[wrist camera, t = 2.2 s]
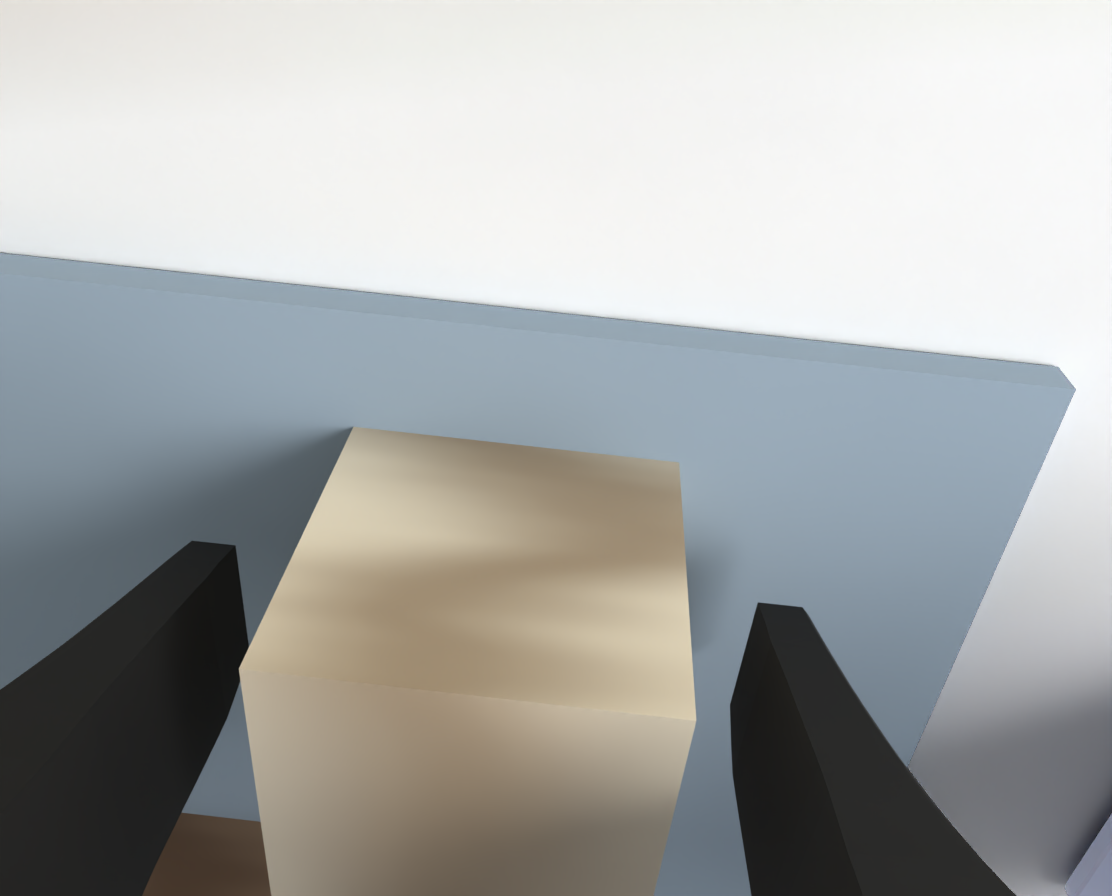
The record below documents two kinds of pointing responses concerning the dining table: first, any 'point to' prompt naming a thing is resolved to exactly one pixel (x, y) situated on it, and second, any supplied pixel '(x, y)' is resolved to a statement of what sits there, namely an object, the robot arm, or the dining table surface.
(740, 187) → the dining table surface
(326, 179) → the dining table surface
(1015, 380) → the mat
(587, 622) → the maple cube
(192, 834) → the walnut base
